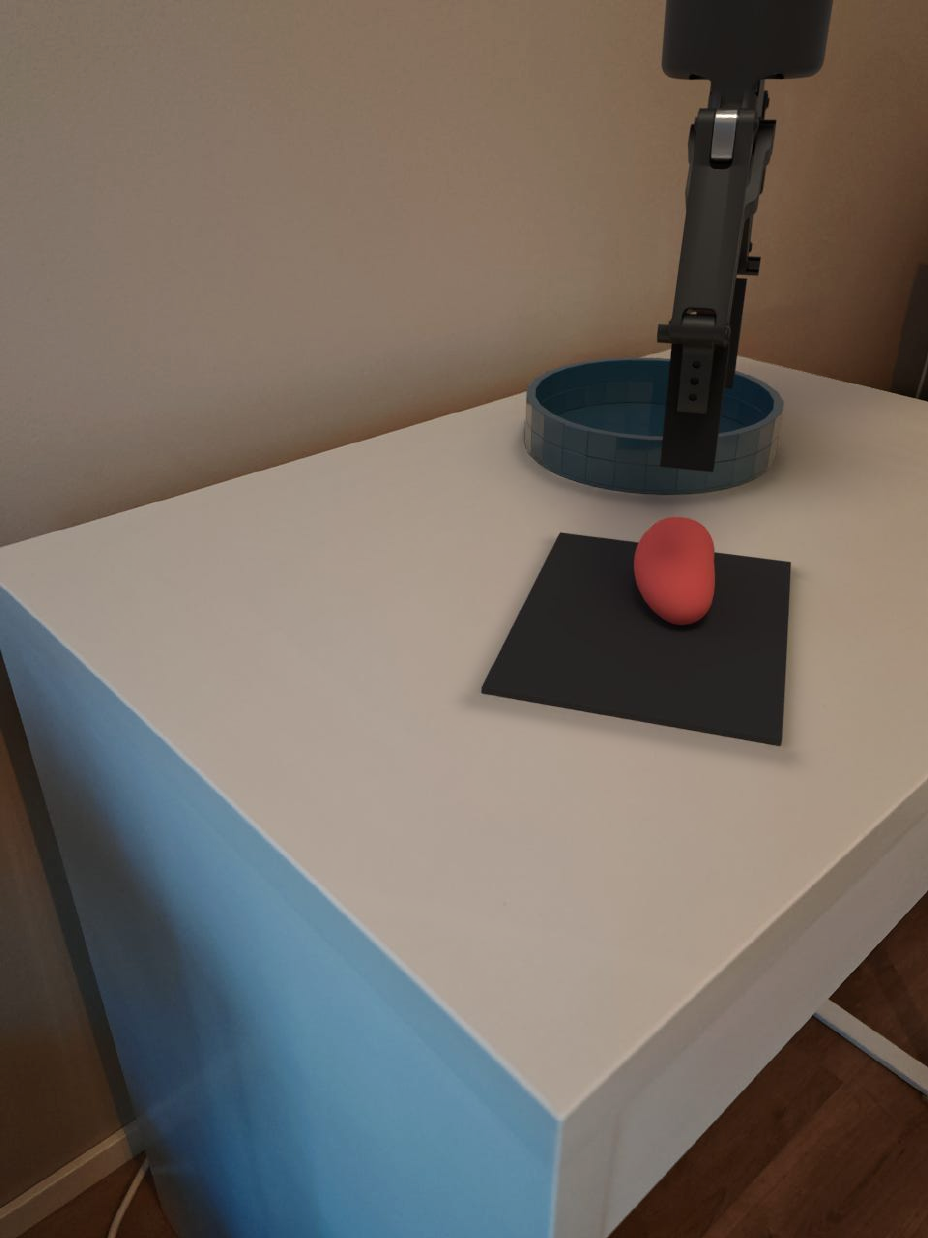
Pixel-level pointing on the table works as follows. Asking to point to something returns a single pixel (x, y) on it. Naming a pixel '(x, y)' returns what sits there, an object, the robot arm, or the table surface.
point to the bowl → (642, 427)
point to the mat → (650, 644)
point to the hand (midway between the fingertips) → (700, 422)
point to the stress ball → (676, 569)
